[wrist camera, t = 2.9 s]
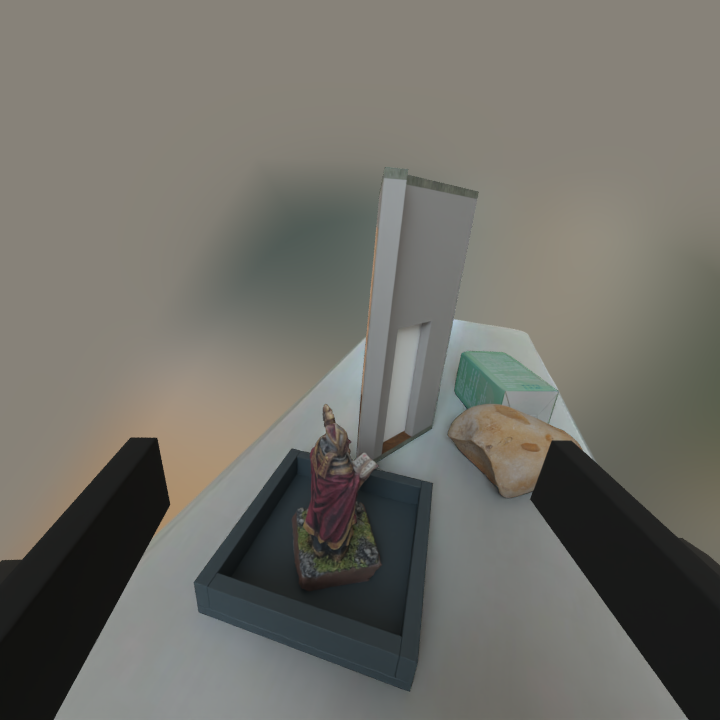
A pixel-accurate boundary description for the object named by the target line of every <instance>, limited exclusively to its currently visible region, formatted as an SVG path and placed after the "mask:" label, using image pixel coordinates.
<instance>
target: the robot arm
mask: <svg viewBox="0 0 720 720" xmlns="http://www.w3.org/2000/svg"><path fill="white" fill-rule="evenodd" d="M530 500H531V501H532V502H533V504H534V505H535V507H536V508H537V509H538V511H539V512H540V514H541V515H542V516H543V518H544V519H545V520H546V522H547V523H548V525H549V526H550V527H551V529H552V530H553V532H554V533H555V534H556V536H557V537H558V539H559V540H560V541H561V543H562V544H563V546H564V547H565V548H566V550H567V551H568V552H569V554H570V555H571V557H572V558H573V559H574V561H575V562H576V564H577V565H578V566H579V568H580V569H581V571H582V572H583V573H584V575H585V576H586V578H587V579H588V580H589V582H590V583H591V584H592V586H593V587H594V589H595V590H596V591H597V593H598V594H599V596H600V597H601V598H602V600H603V601H604V603H605V604H606V605H607V607H608V608H609V610H610V611H611V612H612V614H613V615H614V616H615V618H616V619H617V621H618V622H619V623H620V625H621V626H622V628H623V629H624V630H625V632H626V633H627V635H628V636H629V637H630V639H631V640H632V641H633V643H634V644H635V646H636V647H637V648H638V650H639V651H640V653H641V654H642V655H643V657H644V658H645V660H646V661H647V662H648V664H649V665H650V667H651V668H652V669H653V671H654V672H655V673H656V675H657V676H658V678H659V679H660V680H661V682H662V683H663V685H664V686H665V687H666V689H667V690H668V692H669V693H670V694H671V696H672V697H673V699H674V700H675V701H676V703H677V704H678V705H679V707H680V708H681V710H682V711H683V712H684V714H685V715H686V717H687V718H688V719H689V720H720V565H719V564H718V563H716V562H715V561H714V560H713V559H712V558H711V557H710V556H708V555H707V554H706V553H704V552H702V551H701V550H699V549H698V548H696V547H695V546H693V545H692V544H690V543H689V542H687V541H686V540H684V539H683V538H678V537H676V536H675V535H674V534H673V533H672V532H671V531H670V530H669V529H668V528H667V527H666V526H664V525H663V524H662V523H661V522H660V521H659V520H658V519H657V518H656V517H655V516H653V515H652V514H651V513H650V512H649V511H648V510H647V509H646V508H645V507H643V505H641V504H640V503H639V502H638V501H637V500H636V499H635V498H634V497H633V496H632V495H631V494H629V493H628V492H627V491H626V490H625V489H624V488H623V487H622V486H621V485H620V484H619V483H617V482H616V481H615V480H614V479H613V478H612V477H611V476H610V475H609V474H608V473H606V472H605V471H604V470H603V469H602V468H601V467H600V466H599V465H598V464H597V463H596V462H595V461H593V460H592V459H591V458H590V457H589V456H588V455H587V454H586V453H585V452H584V451H583V450H581V449H580V448H579V447H578V446H577V445H576V444H575V443H574V442H573V441H572V440H552V441H551V444H550V446H549V449H548V452H547V455H546V457H545V460H544V463H543V466H542V468H541V471H540V474H539V477H538V479H537V482H536V485H535V488H534V490H533V493H532V496H531V499H530ZM169 506H170V501H169V496H168V491H167V486H166V481H165V475H164V470H163V465H162V460H161V455H160V450H159V444H158V440H157V438H130V439H129V440H128V441H127V442H126V443H125V444H124V446H123V447H122V448H121V449H120V450H119V452H117V453H116V455H115V456H114V457H113V458H112V459H111V460H110V461H109V463H108V464H107V465H106V466H105V467H104V468H103V469H102V471H100V473H99V474H98V475H97V476H96V477H95V478H94V479H93V481H92V482H91V483H90V484H89V485H88V486H87V487H86V488H85V490H84V491H83V492H82V493H81V494H80V495H79V496H78V497H77V499H76V500H75V501H74V502H73V503H72V504H71V505H70V507H69V508H68V509H67V510H66V511H65V512H64V513H63V514H62V515H61V517H60V518H59V519H58V520H57V521H56V522H55V523H54V524H53V526H52V527H51V528H50V529H49V530H48V531H47V532H46V534H45V535H44V536H43V537H42V538H41V539H40V540H39V541H38V543H37V544H36V545H35V546H34V547H33V548H32V549H31V550H30V552H29V553H28V554H27V555H26V556H25V557H24V558H23V559H22V560H2V561H1V562H0V720H54V718H55V716H56V714H57V712H58V710H59V709H60V707H61V705H62V703H63V701H64V699H65V698H66V696H67V694H68V692H69V690H70V688H71V686H72V685H73V683H74V681H75V679H76V677H77V675H78V674H79V672H80V670H81V668H82V666H83V664H84V663H85V661H86V659H87V657H88V655H89V653H90V651H91V650H92V648H93V646H94V644H95V642H96V640H97V639H98V637H99V635H100V633H101V631H102V629H103V628H104V626H105V624H106V622H107V620H108V618H109V616H110V615H111V613H112V611H113V609H114V607H115V605H116V604H117V602H118V600H119V598H120V596H121V594H122V593H123V591H124V589H125V587H126V585H127V583H128V582H129V580H130V578H131V576H132V574H133V572H134V570H135V569H136V567H137V565H138V563H139V561H140V559H141V558H142V556H143V554H144V552H145V550H146V548H147V547H148V545H149V543H150V541H151V539H152V537H153V535H154V534H155V532H156V530H157V528H158V526H159V524H160V522H161V521H162V519H163V517H164V515H165V513H166V512H167V510H168V508H169Z"/></svg>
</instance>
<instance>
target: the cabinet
mask: <svg viewBox="0 0 720 720" xmlns="http://www.w3.org/2000/svg"><path fill="white" fill-rule="evenodd" d="M407 173H408V169H400V168H389V167H385V169H384V174H383V179H382V183H381V188H380V194H379V205H378V216H377V226H376V227H377V228H376V237H375V248H374V259H373V269H372V280H371V291H370V302H369V312H368V323H367V333H366V344H365V355H364V366H363V376H362V387H361V401H360V414H359V428H358V442H357V455H356V458H357V457H359V456H360V455H361V454H362V453H363V452H364V453H366V454H367V456H368V457H369V458H370V459H371V460H373V461H375V462H378V461H379V460H381V459H382V458H384V457H386V456H387V455H389V454H391V453H392V452H394V451H396V450H397V449H399V448H401V447H402V446H404V445H405V444H407V443H409V442H410V441H412V440H414V439H415V438H417V437H419V436H420V435H422V434H424V433H425V432H427V431H428V430H430V429H432V425H433V420H434V415H435V410H436V405H437V400H438V395H439V390H440V384H441V379H442V374H443V369H444V364H445V359H446V354H447V349H448V344H449V339H450V334H451V329H452V324H453V318H454V314H455V309H456V303H457V298H458V293H459V288H460V283H461V278H462V273H463V268H464V263H465V258H466V253H467V248H468V242H469V238H470V233H471V228H472V222H473V217H474V212H475V207H476V202H477V197H478V191H473V190H469V189H465V188H461V187H457V186H452V185H448V184H444V183H440V182H436V181H432V180H427V179H423V178H419V177H415V176H411V175H407Z"/></svg>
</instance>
